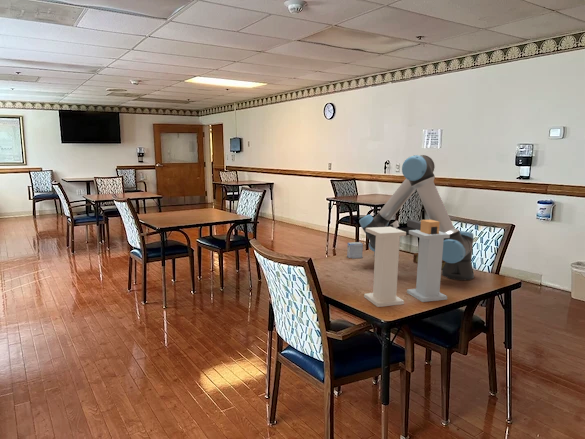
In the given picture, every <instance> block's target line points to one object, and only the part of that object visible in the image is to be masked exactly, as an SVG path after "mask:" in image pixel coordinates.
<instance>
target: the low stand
mask: <svg viewBox="0 0 585 439" xmlns="http://www.w3.org/2000/svg"><path fill="white" fill-rule="evenodd" d="M408 235H411V236H414V237H417V238H419V240H418V264H417V269H416V281H415V282H416V285H415V288H408V289H406V293H407V294H408V295H411V296H412V297H413V298H415V299H417V300H418V301H420V302H422V303H427V302H436V301H444V300H448V295H445V294H444V293H443V292H441V289H440V288H441V277H442V270H441V267H442V254H443V241H444V238H450V234H447V233H444V232H440V231H439V234H427V233H424V232H421V231H420V230H409V234H408Z"/></svg>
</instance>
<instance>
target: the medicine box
mask: <svg viewBox="0 0 585 439" xmlns="http://www.w3.org/2000/svg"><path fill="white" fill-rule="evenodd" d="M363 250H364V244H363V243H362V242H360V241H356V242H355V241H354V242H353V241H352V242H347V250H346V253H347V254H346V258H348V259H349V258H352V259H362V258H363Z"/></svg>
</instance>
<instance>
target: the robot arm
mask: <svg viewBox="0 0 585 439" xmlns="http://www.w3.org/2000/svg"><path fill="white" fill-rule="evenodd" d="M435 167H436V166H435V162H434V160H433V159H432V158H431V157H430V156H428V155H425V154H420V155H418V154H415V155H414V154H413V155H412V156H409V157H408V158H406V159H405V160H404V161H403V164H402V166H401V173H402V175H403V177H404V178H405V179H404V180H403V181H402V183H401V184H400V185H399V186H398V188H397V189H396V190H395V192H393V194H392V195H391V196H390V197H389V199H388V200H387V201H386V203H385V204H384V205H383V206H382V207H381V209H380V210H379V212H378V213H377V214H376V215H375V216H372V214H367V215H364V216H363V217H362V218H359V221H358V222H359V224H360V225H359V226H360V227H361V228H362V230H363V232H364V233H365V235H366V237H367V238H368V240H369V243H368V247H369V249H370V250H371V251H372V252H373V253H374V252H375V242H376V236H375V235H373V234H371V233H368V232H366V228H373V227H393V228H396V229H399V230H402V231H405V232H406V236H408V235H410V234H409V230H417V229H414V228H411V227H408V226H407V227H406V226H405V227H400V224H399V221H398V220H395V221H394V222H392V223H390V221H391V220H392V219H393V218H394V216H395V215H396V214H397V213H398V212H399V211H400V209H401V208H402V207H403V205H404V204H405V203H406V202H407V201H408V200H409V198H410V197H411V196H412V195H413V194H414V192H415V191H417V194H418V196H419V198H420V200H421V203H422V205H423V208H424V210H425V212H426V214H427V216H428V220H434V221H438V222H440V225H439V231H440V232H444V233H447V234H450V238H444V241H443V254H442V260H443V261H445V265H444V267H443V269H442V270H441V276H443V277H445V278H448V279H450V280H451V279H452V280H456V281H469V280H470V279H471V280H472V279H475V272H474V267H473V264H472V256H473V249H474V248H473V245H474V240H475V238H474V233H473V232H471V231H466V230H465V231H463V230H459V228H458V229H457V228H455V227H454V225H453V222H452V220H451V218H450V215H449V213H448V210H447V208H446V206H445V204H444V202H443V200H442V198H441V195H440V193H439V191H438V188H437V186H436V185H435V182H434V181H435V178H436V176H435V174H434V171H435ZM419 221H420V222H421V220H419ZM389 223H390V224H389ZM398 227H400V228H398Z"/></svg>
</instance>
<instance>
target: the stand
mask: <svg viewBox="0 0 585 439" xmlns="http://www.w3.org/2000/svg"><path fill="white" fill-rule="evenodd" d="M366 232H368V233H371V234H373V235H375V236H376V242H375V256H374V264H373V265H374V266H373V284H372V285H373V287H372V292H368V293H363V294H364V295H363V297H364V299H366V300H367V301H369V302H370V303H372V304H373V305H374V306H375V307H377V308H380V307H389V306H401V305H404V304H405V301H404V299H402V298H401V297H399V296H398V295H397V293H398V292H397V290H398V276H399V275H398V274H399V273H398V272H399V258H400V256H399V255H400V241H401V237H406V236H407V235H406V232H405V231H402V230H399V228H393V227H373V228H366Z"/></svg>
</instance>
